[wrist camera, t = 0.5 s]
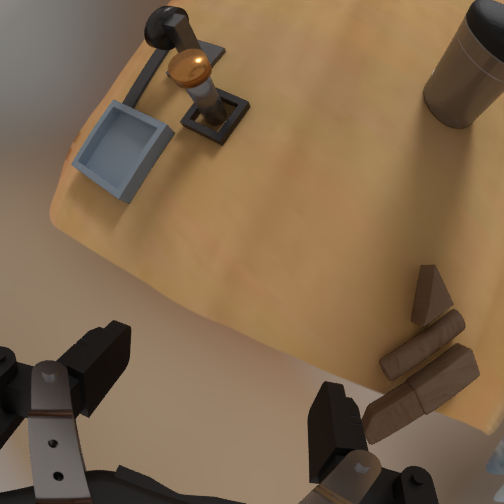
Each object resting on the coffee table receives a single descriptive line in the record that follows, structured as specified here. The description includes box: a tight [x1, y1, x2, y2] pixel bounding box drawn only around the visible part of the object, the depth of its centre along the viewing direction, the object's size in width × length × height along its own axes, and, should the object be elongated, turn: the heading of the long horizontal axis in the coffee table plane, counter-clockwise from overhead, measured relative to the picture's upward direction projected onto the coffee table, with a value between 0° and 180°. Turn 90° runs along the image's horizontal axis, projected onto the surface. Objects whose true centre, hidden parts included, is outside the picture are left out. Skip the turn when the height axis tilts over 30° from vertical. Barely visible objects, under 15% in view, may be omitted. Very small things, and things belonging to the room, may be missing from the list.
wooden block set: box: [361, 265, 480, 444], centre depth 33 cm, size 17×6×18 cm
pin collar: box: [180, 88, 250, 146], centre depth 40 cm, size 7×7×2 cm
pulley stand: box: [144, 6, 226, 78], centre depth 36 cm, size 8×7×12 cm
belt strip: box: [122, 49, 169, 109], centre depth 43 cm, size 14×2×1 cm, turn 157°
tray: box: [71, 100, 175, 204], centre depth 41 cm, size 12×12×3 cm
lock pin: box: [168, 49, 227, 126], centre depth 34 cm, size 4×4×13 cm
